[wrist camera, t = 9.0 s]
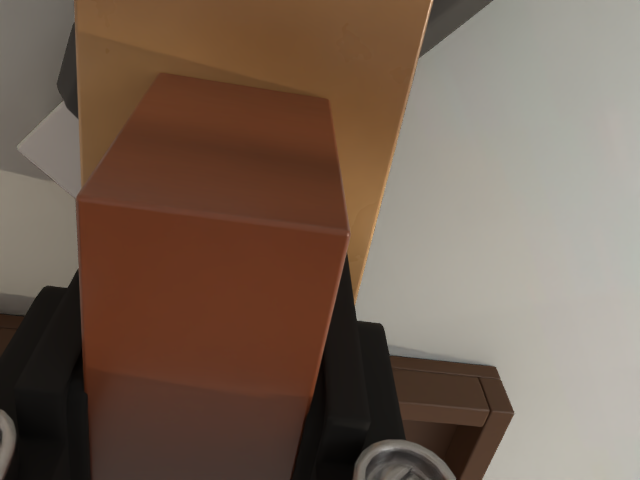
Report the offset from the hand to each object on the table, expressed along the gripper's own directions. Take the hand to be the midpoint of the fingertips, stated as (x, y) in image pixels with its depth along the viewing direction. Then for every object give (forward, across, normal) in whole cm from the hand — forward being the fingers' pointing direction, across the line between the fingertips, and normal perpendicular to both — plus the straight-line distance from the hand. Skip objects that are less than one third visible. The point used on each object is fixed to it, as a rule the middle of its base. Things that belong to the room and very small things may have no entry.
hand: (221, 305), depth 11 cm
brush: (+3, 0, 0) cm, 3 cm away
